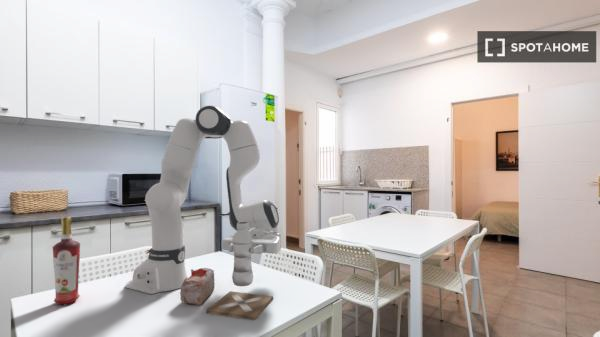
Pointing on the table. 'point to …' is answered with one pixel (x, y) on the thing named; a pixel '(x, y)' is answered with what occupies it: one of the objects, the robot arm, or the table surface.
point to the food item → (197, 286)
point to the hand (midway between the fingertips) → (241, 250)
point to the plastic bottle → (242, 255)
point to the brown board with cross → (240, 305)
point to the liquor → (66, 265)
